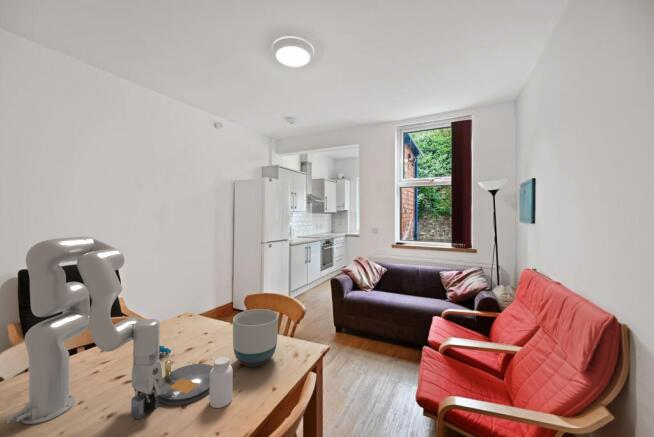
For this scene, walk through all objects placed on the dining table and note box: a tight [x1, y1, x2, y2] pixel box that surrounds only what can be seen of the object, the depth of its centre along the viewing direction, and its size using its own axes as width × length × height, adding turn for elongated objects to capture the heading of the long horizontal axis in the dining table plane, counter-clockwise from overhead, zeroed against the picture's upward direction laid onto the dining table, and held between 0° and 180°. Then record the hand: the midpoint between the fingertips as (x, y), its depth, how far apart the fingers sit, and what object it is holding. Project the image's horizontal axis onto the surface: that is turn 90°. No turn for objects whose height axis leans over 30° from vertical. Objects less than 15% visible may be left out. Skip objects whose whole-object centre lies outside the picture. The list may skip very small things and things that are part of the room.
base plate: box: [159, 389, 210, 407], centre depth 104 cm, size 22×22×1 cm
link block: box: [130, 392, 160, 421], centre depth 91 cm, size 7×4×6 cm, turn 157°
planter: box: [232, 308, 279, 368], centre depth 122 cm, size 20×20×21 cm
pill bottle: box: [208, 356, 234, 409], centre depth 96 cm, size 8×8×15 cm
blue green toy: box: [159, 344, 172, 354], centre depth 124 cm, size 11×6×10 cm
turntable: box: [160, 359, 214, 401], centre depth 104 cm, size 21×21×9 cm
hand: (145, 408), depth 91 cm, fingers closed on link block, 4 cm apart
